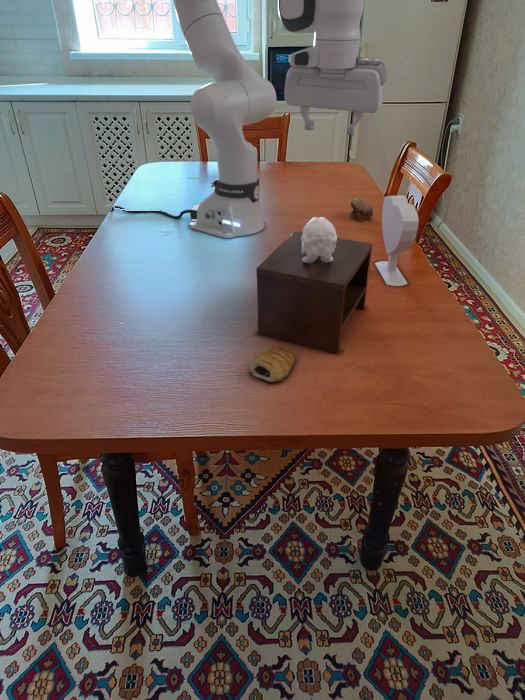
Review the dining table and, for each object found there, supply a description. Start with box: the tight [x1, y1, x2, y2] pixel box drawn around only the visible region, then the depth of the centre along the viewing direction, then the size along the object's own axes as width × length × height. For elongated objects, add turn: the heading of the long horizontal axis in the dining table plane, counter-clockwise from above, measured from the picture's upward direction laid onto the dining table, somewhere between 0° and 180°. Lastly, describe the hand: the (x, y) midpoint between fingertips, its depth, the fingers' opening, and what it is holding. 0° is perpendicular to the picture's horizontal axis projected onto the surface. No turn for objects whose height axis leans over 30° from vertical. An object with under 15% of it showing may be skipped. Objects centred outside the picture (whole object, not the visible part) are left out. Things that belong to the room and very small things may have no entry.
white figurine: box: [301, 216, 338, 263], centre depth 93 cm, size 6×8×12 cm
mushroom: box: [348, 197, 374, 220], centre depth 149 cm, size 8×8×6 cm
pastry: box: [248, 345, 297, 383], centre depth 90 cm, size 9×7×4 cm
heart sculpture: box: [374, 195, 420, 287], centre depth 115 cm, size 16×5×18 cm, turn 4°
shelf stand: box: [256, 230, 373, 355], centre depth 99 cm, size 17×19×15 cm
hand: (329, 131), depth 103 cm, fingers open, 8 cm apart
